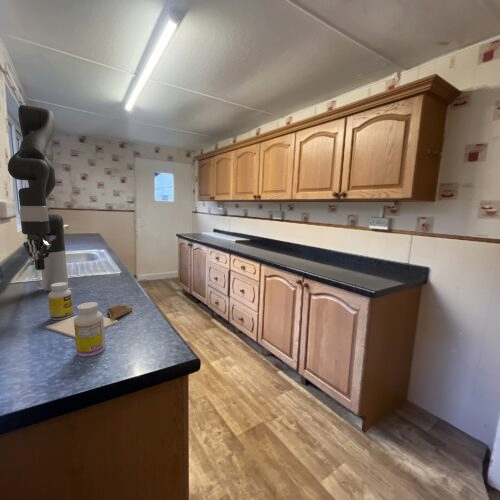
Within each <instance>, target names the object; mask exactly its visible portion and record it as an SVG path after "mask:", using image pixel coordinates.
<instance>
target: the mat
mask: <svg viewBox="0 0 500 500" xmlns="http://www.w3.org/2000/svg"><path fill="white" fill-rule="evenodd" d="M77 315H78V314H77ZM77 315H74V316H71V317H69V318H66V319H62V320H59V321H57V322H54V323H52V324H48V325H46V326H45V327H46V329H47V330H50V331H52V332H56V333H60V334H62V335H65V336H68V337H70V338H74V339H75V329H74V318H75V317H76V316H77ZM103 320H104V330H105V329H108V328H110V327H111V326H114V325H116V324H118V323H119V320H117V319H114V320H113V319H112V318H111V317H106V316H103Z"/></svg>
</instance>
